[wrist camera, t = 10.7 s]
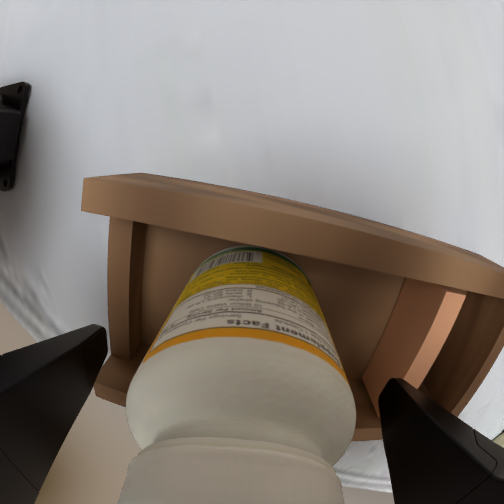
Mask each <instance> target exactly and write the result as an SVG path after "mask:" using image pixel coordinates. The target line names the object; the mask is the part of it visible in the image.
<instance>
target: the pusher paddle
mask: <svg viewBox="0 0 504 504" xmlns="http://www.w3.org/2000/svg"><path fill="white" fill-rule="evenodd" d="M465 297H466V295H465V294H464V293H462V292H461V291H460V290H458V289H457V288H453V287H448V286H444V285H439V284H435V283H430V282H426V281H421V280H416V279H412V278H407V277H406V279H405V282H404V284H403V287H402V290H401V292H400V295H399V297H398V300H397V303H396V305H395V308H394V310H393V312H392V315H391V317H390V319H389V322H388V324H387V326H386V329H385V331H384V333H383V335H382V337H381V340H380V342H379V344H378V346H377V348H376V350H375V352H374V354H373V356H372V358H371V360H370V362H369V364H368V366H367V368H366V370H365V372H364V374H363V376H362V379H363V382H364V384H365V387H366V389H367V391H368V394H369V396H370V399H371V401H372V403H373V406H374V408H375V411H376V413H377V416H378V418H380V413H379V406H378V398H379V395H380V393H381V392H382V390H383V388H384V387H385V385H386V383H387V382H388V380H389V379H390V378H402V379H404V380H405V381H407V382H408V383H409V384H411V385H412V386H414V387H415V388H416V389H418V388H419V386H420V384H421V383H422V381H423V380H424V378H425V376H426V375H427V373H428V371H429V370H430V368H431V366H432V365H433V363H434V361H435V359H436V357H437V356H438V354H439V352H440V350H441V348H442V346H443V345H444V343H445V341H446V339H447V337H448V335H449V333H450V331H451V329H452V326H453V324H454V322H455V320H456V318H457V316H458V313H459V311H460V309H461V307H462V304H463V302H464V300H465Z"/></svg>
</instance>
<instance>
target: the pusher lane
mask: <svg viewBox="0 0 504 504" xmlns="http://www.w3.org/2000/svg"><path fill="white" fill-rule="evenodd" d="M81 211H85V212H90V213H95V214H100V215H105V216H110V224H109V240H108V318H109V335H110V347H111V356H110V357H109V358H108V360H107V361H106V363H105V364H104V365H103V367H102V368H101V370H100V372H99V374H98V376H97V378H96V381H95V383H94V389H95V393H96V396H97V397H100V398H102V399H105V400H107V401H110V402H113V403H115V404H118V405H121V406H124V407H126V398H127V392H128V389H129V386H130V383H131V381H132V379H133V377H134V375H135V373H136V372H137V370H138V368H139V366H140V364H141V363H142V361H143V359H144V357H145V356H146V354H147V352H148V350H149V349H150V347H151V345H152V343H153V342H154V340H155V338H156V337H157V335H158V333H159V331H160V330H161V328H162V326H163V324H164V323H165V321H166V319H167V318H168V316H169V314H170V312H171V311H172V309H173V307H174V305H175V304H176V302H177V300H178V298H179V297H180V295H181V293H182V292H183V290H184V288H185V287H186V285H187V284H188V282H189V280H190V278H191V276H192V275H193V273H194V272H195V271H196V269H197V268H198V267H199V266H200V265H201V264H202V263H203V262H204V261H205V260H206V259H207V258H209V257H210V256H212V255H213V254H215V253H217V252H219V251H221V250H223V249H226V248H229V247H233V246H238V245H255V246H260V247H265V248H270V249H275V250H277V251H279V252H281V253H283V254H285V255H287V256H288V257H290V258H291V259H292V260H294V261H295V262H296V263H297V264H298V265H299V266H300V267H301V268H302V270H303V271H304V272H305V274H306V276H307V277H308V280H309V281H310V284H311V286H312V288H313V291H314V293H315V296H316V298H317V301H318V303H319V306H320V308H321V311H322V313H323V316H324V318H325V321H326V324H327V326H328V329H329V331H330V334H331V337H332V339H333V342H334V345H335V347H336V350H337V353H338V355H339V358H340V360H341V363H342V366H343V369H344V372H345V374H346V377H347V380H348V383H349V385H350V388H351V391H352V394H353V398H354V402H355V408H356V424H355V430H354V434H353V437H352V440H351V441H367V440H380V439H383V438H382V430H381V421H380V418H378V416H377V413H376V411H375V408H374V406H373V403H372V401H371V399H370V396H369V394H368V391H367V389H366V387H365V384H364V382H363V379H362V376H363V374H364V372H365V370H366V368H367V366H368V364H369V362H370V360H371V358H372V356H373V354H374V352H375V350H376V348H377V346H378V344H379V342H380V340H381V337H382V335H383V333H384V331H385V329H386V326H387V324H388V322H389V319H390V317H391V315H392V312H393V310H394V308H395V305H396V303H397V300H398V297H399V295H400V292H401V290H402V287H403V284H404V282H405V279H406V277H407V278H412V279H416V280H421V281H426V282H430V283H435V284H439V285H444V286H448V287H453V288H457V289H458V290H460V291H461V292H462V293H464V294H465V295H466V297H465V300H464V302H463V304H462V307H461V309H460V311H459V313H458V316H457V318H456V320H455V322H454V324H453V326H452V329H451V331H450V333H449V335H448V337H447V339H446V341H445V343H444V345H443V346H442V348H441V350H440V352H439V354H438V356H437V357H436V359H435V361H434V363H433V365H432V366H431V368H430V370H429V371H428V373H427V375H426V376H425V378H424V380H423V381H422V383H421V384H420V386H419V388H418V390H419V391H421V392H422V393H423V394H425V395H426V396H428V397H429V398H430V399H432V400H433V401H435V402H436V403H438V404H439V405H440V406H442V407H443V408H445V409H446V410H447V411H449V412H450V413H452V414H453V415H455V416H456V417H458V416H459V414H460V413H461V412H462V410H463V409H464V408H465V406H466V405H467V404H468V402H469V401H470V399H471V398H472V397H473V395H474V394H475V392H476V391H477V389H478V388H479V386H480V385H481V383H482V382H483V380H484V379H485V377H486V376H487V374H488V372H489V371H490V369H491V367H492V366H493V364H494V362H495V361H496V359H497V357H498V355H499V353H500V352H501V350H502V348H503V346H504V267H502V266H500V265H498V264H496V263H494V262H492V261H491V260H489V259H487V258H485V257H483V256H481V255H479V254H476V253H473V252H471V251H468V250H465V249H462V248H459V247H456V246H453V245H450V244H447V243H444V242H441V241H438V240H435V239H432V238H429V237H426V236H422V235H419V234H416V233H413V232H409V231H406V230H403V229H399V228H396V227H393V226H389V225H386V224H382V223H379V222H375V221H372V220H368V219H364V218H361V217H357V216H353V215H349V214H345V213H342V212H338V211H334V210H330V209H326V208H322V207H318V206H313V205H309V204H305V203H301V202H296V201H292V200H288V199H283V198H279V197H274V196H269V195H265V194H260V193H255V192H250V191H245V190H240V189H235V188H230V187H225V186H219V185H214V184H208V183H203V182H197V181H191V180H185V179H179V178H173V177H166V176H160V175H153V174H146V173H133V174H120V175H109V176H99V177H90V178H84V183H83V193H82V205H81Z"/></svg>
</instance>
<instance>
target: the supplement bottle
mask: <svg viewBox="0 0 504 504" xmlns="http://www.w3.org/2000/svg"><path fill="white" fill-rule="evenodd" d="M126 416H127V421H128V425H129V428H130V431H131V433H132V435H133V437H134V439H135V441H136V442H137V444H138V445H139V447H140V449H141V450H142V451H141V452H140V453H139V454H138V455H137V456H136V457H135V458H134V459H133V460H132V461H131V463H130V464H129V466H128V471H127V476H126V479H125V482H124V485H123V488H122V492H121V494H120V497H119V500H118V504H344V499H343V492H342V485H341V481H340V479H339V477H338V476H337V475H336V473H335V470H334V468H333V467H332V466H333V465H334V464H335V463H336V462H337V461H338V460H339V459H340V458H341V457H342V455H343V454H344V453H345V451H346V450H347V448H348V446H349V444H350V442H351V440H352V437H353V434H354V430H355V424H356V408H355V402H354V398H353V394H352V391H351V388H350V385H349V383H348V380H347V377H346V374H345V372H344V369H343V366H342V363H341V360H340V358H339V355H338V353H337V350H336V347H335V345H334V342H333V339H332V337H331V334H330V331H329V329H328V326H327V324H326V321H325V318H324V316H323V313H322V311H321V308H320V306H319V303H318V301H317V298H316V296H315V293H314V291H313V288H312V286H311V284H310V281H309V280H308V277H307V276H306V274H305V272H304V271H303V270H302V268H301V267H300V266H299V265H298V264H297V263H296V262H295V261H294V260H292V259H291V258H290V257H288V256H287V255H285V254H283V253H281V252H279V251H277V250H275V249H270V248H265V247H260V246H255V245H238V246H233V247H229V248H226V249H223V250H221V251H219V252H217V253H215V254H213V255H212V256H210V257H209V258H207V259H206V260H205V261H204V262H203V263H202V264H201V265H200V266H199V267H198V268H197V269H196V271H195V272H194V273H193V275H192V276H191V278H190V280H189V282H188V284H187V285H186V287H185V288H184V290H183V292H182V293H181V295H180V297H179V298H178V300H177V302H176V304H175V305H174V307H173V309H172V311H171V312H170V314H169V316H168V318H167V319H166V321H165V323H164V324H163V326H162V328H161V330H160V331H159V333H158V335H157V337H156V338H155V340H154V342H153V343H152V345H151V347H150V349H149V350H148V352H147V354H146V356H145V357H144V359H143V361H142V363H141V364H140V366H139V368H138V370H137V372H136V373H135V375H134V377H133V379H132V381H131V383H130V386H129V389H128V392H127V398H126Z"/></svg>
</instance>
